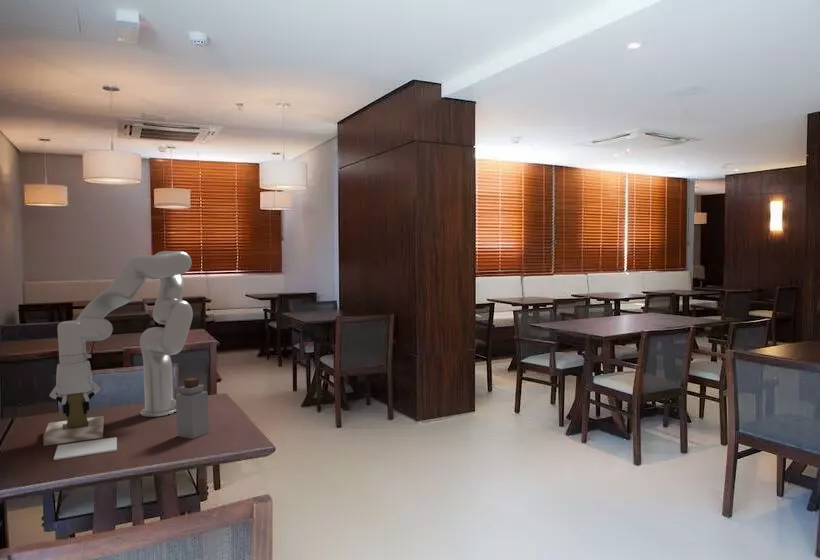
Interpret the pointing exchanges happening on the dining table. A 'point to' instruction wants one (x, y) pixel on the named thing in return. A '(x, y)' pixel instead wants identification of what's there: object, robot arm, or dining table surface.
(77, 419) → the cork
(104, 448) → the grey mat
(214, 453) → the dining table surface
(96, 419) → the shaker holder
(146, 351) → the robot arm
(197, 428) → the perfume bottle
